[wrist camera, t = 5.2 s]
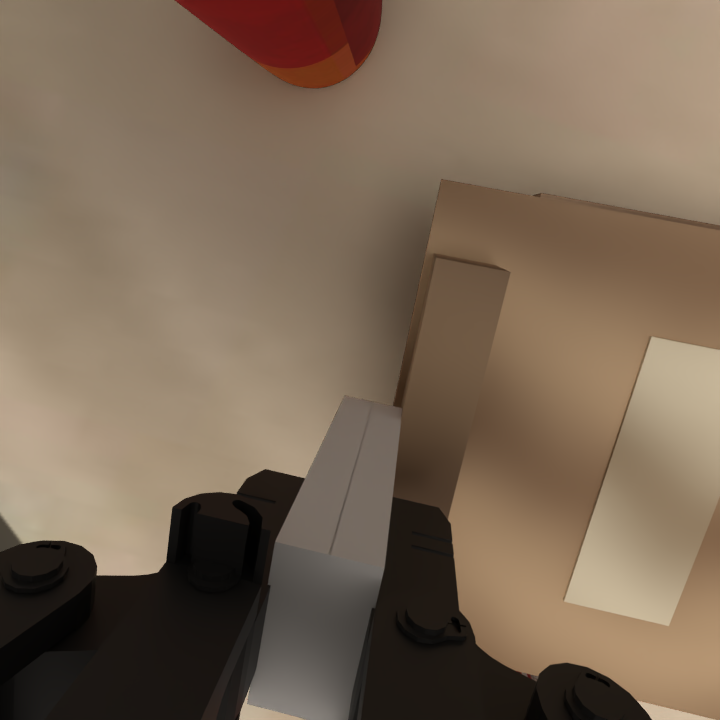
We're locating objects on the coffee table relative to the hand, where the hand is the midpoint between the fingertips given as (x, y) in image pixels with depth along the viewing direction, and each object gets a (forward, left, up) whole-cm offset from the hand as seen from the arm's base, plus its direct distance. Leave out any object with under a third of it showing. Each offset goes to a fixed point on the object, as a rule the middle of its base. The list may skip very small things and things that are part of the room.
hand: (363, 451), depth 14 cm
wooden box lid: (0, +7, -3) cm, 7 cm away
